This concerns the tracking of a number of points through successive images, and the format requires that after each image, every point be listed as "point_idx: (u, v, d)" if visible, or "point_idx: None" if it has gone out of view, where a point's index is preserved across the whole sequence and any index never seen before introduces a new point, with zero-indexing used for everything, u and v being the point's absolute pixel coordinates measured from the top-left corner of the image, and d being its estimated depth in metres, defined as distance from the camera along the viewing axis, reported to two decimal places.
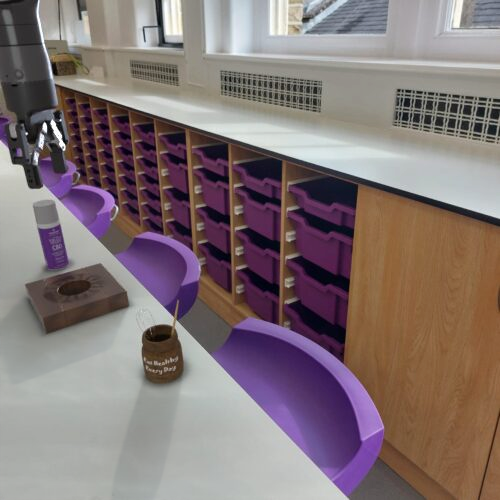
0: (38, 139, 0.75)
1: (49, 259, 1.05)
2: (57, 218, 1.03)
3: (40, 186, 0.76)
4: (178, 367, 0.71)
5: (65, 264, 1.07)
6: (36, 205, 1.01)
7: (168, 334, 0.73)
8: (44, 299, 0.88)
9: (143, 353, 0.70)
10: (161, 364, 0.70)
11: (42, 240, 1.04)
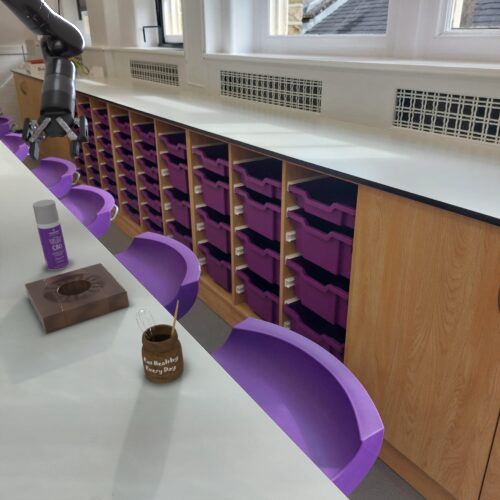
0: None
1: (49, 259, 1.05)
2: (57, 218, 1.03)
3: (75, 157, 1.11)
4: (178, 367, 0.71)
5: (65, 264, 1.07)
6: (36, 205, 1.01)
7: (168, 334, 0.73)
8: (44, 299, 0.88)
9: (143, 353, 0.70)
10: (161, 364, 0.70)
11: (42, 240, 1.04)
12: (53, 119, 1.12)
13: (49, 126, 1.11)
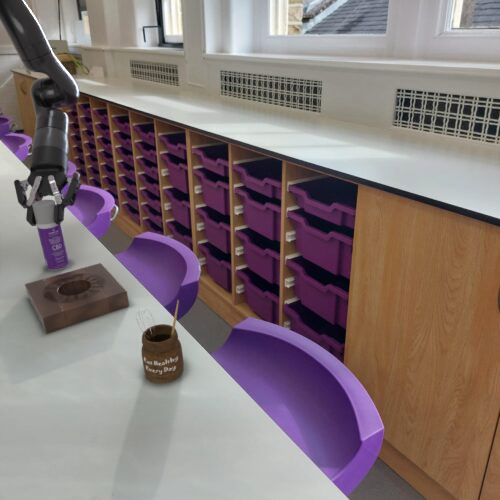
0: None
1: (49, 259, 1.05)
2: None
3: (60, 223, 1.03)
4: (178, 367, 0.71)
5: (65, 264, 1.07)
6: (36, 205, 1.01)
7: (168, 334, 0.73)
8: (44, 299, 0.88)
9: (143, 353, 0.70)
10: (161, 364, 0.70)
11: (42, 240, 1.04)
12: (44, 177, 1.05)
13: (40, 185, 1.04)
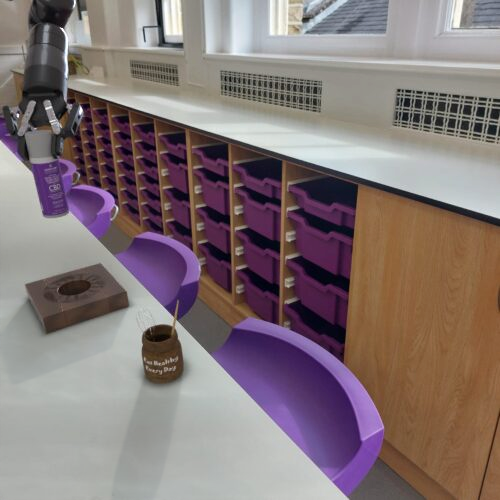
0: None
1: (45, 203, 0.87)
2: None
3: (58, 157, 0.85)
4: (178, 367, 0.71)
5: (64, 210, 0.89)
6: (29, 134, 0.83)
7: (168, 334, 0.73)
8: (44, 299, 0.88)
9: (143, 353, 0.70)
10: (161, 364, 0.70)
11: (36, 179, 0.85)
12: (39, 102, 0.86)
13: (34, 112, 0.86)
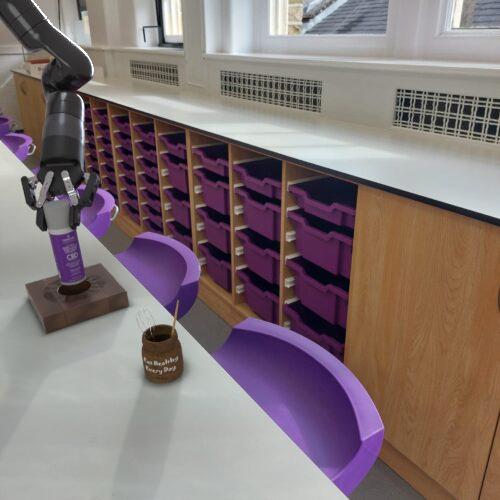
0: None
1: (63, 271, 0.88)
2: None
3: (76, 228, 0.86)
4: (178, 367, 0.71)
5: (82, 276, 0.90)
6: (47, 207, 0.84)
7: (168, 334, 0.73)
8: (44, 299, 0.88)
9: (143, 353, 0.70)
10: (161, 364, 0.70)
11: (54, 248, 0.87)
12: (57, 172, 0.87)
13: (52, 182, 0.87)
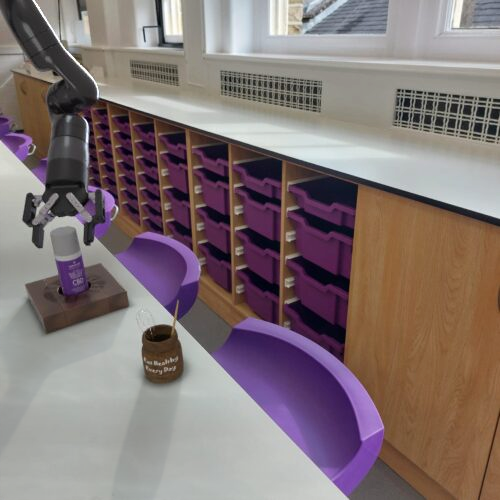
0: None
1: None
2: (78, 248, 0.88)
3: (90, 244, 0.88)
4: (178, 367, 0.71)
5: None
6: (54, 234, 0.86)
7: (168, 334, 0.73)
8: (44, 299, 0.88)
9: (143, 353, 0.70)
10: (161, 364, 0.70)
11: (61, 274, 0.89)
12: (62, 194, 0.89)
13: (57, 204, 0.89)
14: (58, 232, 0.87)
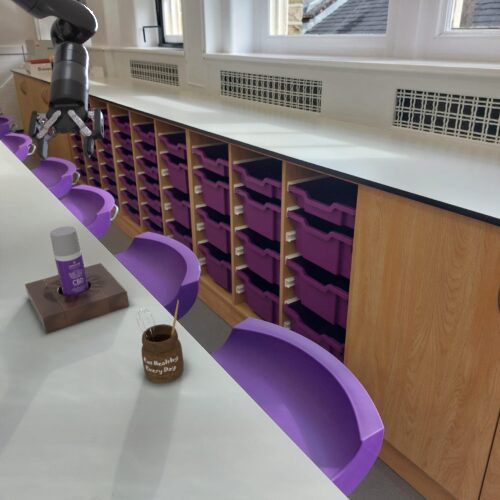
0: None
1: None
2: (78, 248, 0.88)
3: (89, 156, 0.97)
4: (178, 367, 0.71)
5: None
6: (54, 234, 0.86)
7: (168, 334, 0.73)
8: (44, 299, 0.88)
9: (143, 353, 0.70)
10: (161, 364, 0.70)
11: (61, 274, 0.89)
12: (64, 112, 0.98)
13: (59, 120, 0.97)
14: (58, 232, 0.87)
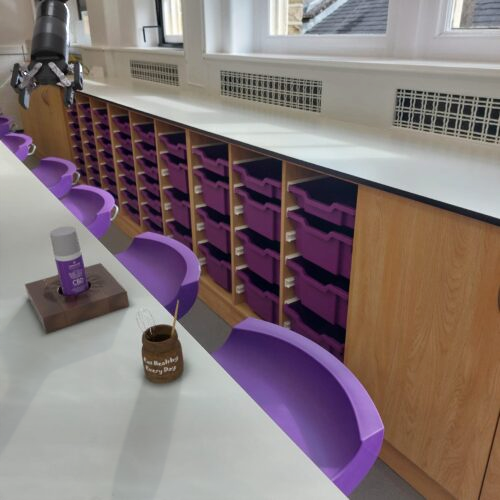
0: None
1: None
2: (78, 248, 0.88)
3: (69, 106, 1.02)
4: (178, 367, 0.71)
5: None
6: (54, 234, 0.86)
7: (168, 334, 0.73)
8: (44, 299, 0.88)
9: (143, 353, 0.70)
10: (161, 364, 0.70)
11: (61, 274, 0.89)
12: (45, 64, 1.03)
13: (40, 72, 1.02)
14: (58, 232, 0.87)
